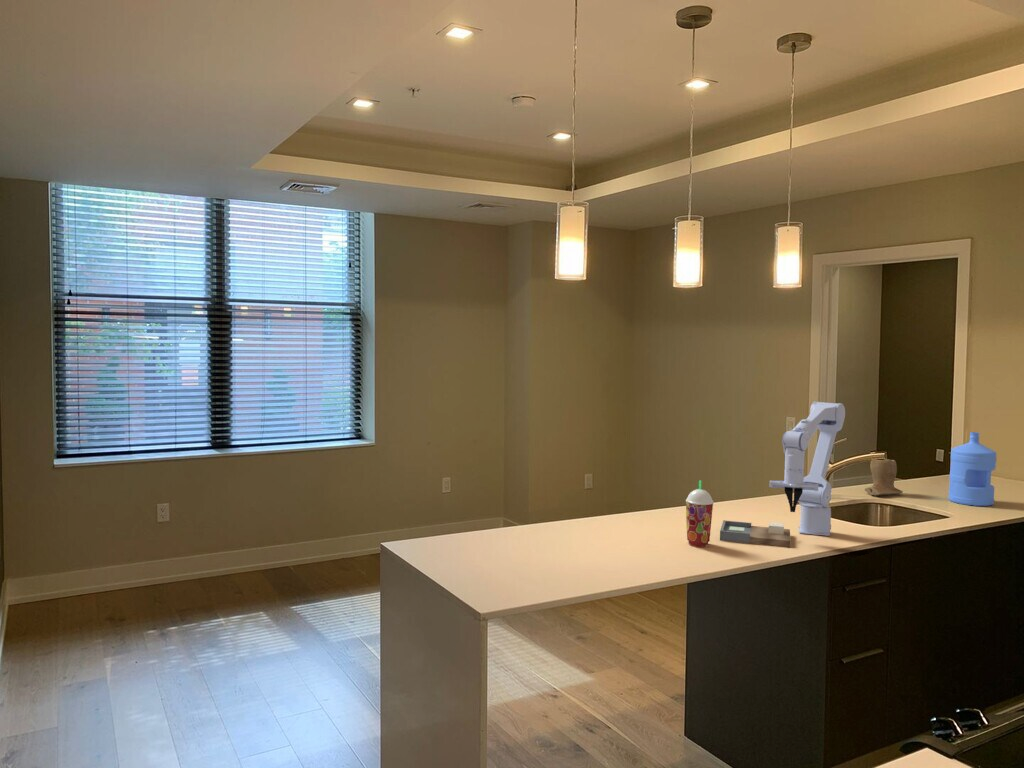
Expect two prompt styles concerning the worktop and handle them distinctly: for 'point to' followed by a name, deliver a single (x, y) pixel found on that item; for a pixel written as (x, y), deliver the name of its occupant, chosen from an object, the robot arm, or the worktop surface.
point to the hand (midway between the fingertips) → (792, 511)
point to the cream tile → (776, 528)
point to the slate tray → (735, 536)
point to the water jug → (972, 473)
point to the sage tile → (736, 529)
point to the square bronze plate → (769, 537)
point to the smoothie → (699, 517)
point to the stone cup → (883, 478)
